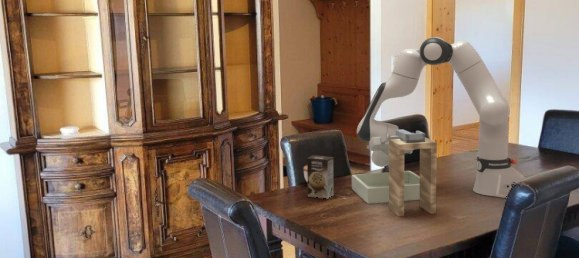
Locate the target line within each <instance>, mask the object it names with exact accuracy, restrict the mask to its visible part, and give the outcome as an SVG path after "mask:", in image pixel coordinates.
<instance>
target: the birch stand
mask: <svg viewBox="0 0 579 258" xmlns="http://www.w3.org/2000/svg"><path fill="white" fill-rule="evenodd" d="M437 145H438V142H437V141H435V140H432V139H430V138H428V137H426V136H425V142H415V143H405V142H403V141H401V140H400V139H390V140H389V164H388V172H389V202H388V208H389V209H390V211H392V212H393V214H395V215H396V216H397V217H404V216H405V201H404V171H405V155H404V150H411V149H414V150H419V176H420V195H419V200H418V201H419V207H421V208H422V210H425V212H427V213H429V214H436V211H437V159H438V158H437V154H438V153H437V151H438V149H437V148H438V146H437Z"/></svg>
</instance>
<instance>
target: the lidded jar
mask: <svg viewBox="0 0 579 258" xmlns="http://www.w3.org/2000/svg"><path fill="white" fill-rule="evenodd" d="M303 176H304V179H305V181H306V183H308V172H307V165H304V166H303Z"/></svg>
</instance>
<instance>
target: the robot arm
mask: <svg viewBox="0 0 579 258" xmlns="http://www.w3.org/2000/svg"><path fill="white" fill-rule="evenodd" d="M445 63H446V64H449V65H450V66H451V67H452V69H453V70H454V73H455V74H456V76H457V77H458V79H459V81H460V82H461V83H460V84H462V86H463V88H464V90H465V91H466V93H467V95H468V97H469V98H470V100H471V103H472V104H473V106H474V108H475V110H476V112H477V113H478V115H479V116H478V117H479V121H478V122H479V123H478V143H477V144H478V149H477V150H478V151H477V152H478V153H477V157H476V176H475V181H474V186H473V188H472V191H473V192H474V193H476V194H478V195H483V196H489V197H497V198H502V199H503V198H507V197H506V196H507V194H508V192H509V190H510V188H511V187H512V186H513V185H514V184H516V183H518V182H520V181H522V180H524V179H525V180H526V178H525V176H524V175H523V174H522V173H520V172H519V171H518V170H516V168H514V167H513V166H512V165H516V164H517V159H516V158H515V159H514V158H510V157H509V156H508V153H509V152H508V151H509V150H508V148H509V116H510V111H511V110H510V106H509V101H508V100H507V99H506V97H504V95H503V93H502V92H501V89H499V86H498V85H497V83H496V81H495V79H494V77H493V76H492V74H491V72H490V71H489V69H488V67H487V66H486V64H485V62H484V60H483V58H482V57H481V56H480V54H479V53H478V51H477V50H476V49H475V47H474V46H473V45H472V43H470V42H469V41H467V40H458V41H456V42H453V43H448V42H447V41H445V40H444V39H443V38H442V37H438V36H437V37H436V36H434V37H433V36H432V37H429V38H427V39H424V41H423V42H422V44H421V45H420V47H419V48H416V49H415V48H404V49H403V50H402V51H401V52H400V54H399V55H398V57H397V59H396V62H395V64H394V67H393V70H392V72H391V75H390V77H389V78H388V79H387V81H385V82H382V83H381V84H380V85H379V86H378V88H377V90H376V91H375V93H374V96H373V97H372V99H371V101H370V103H369V105H368V107H367V109H366V111H365V113H364V114H363V116H362V118H361V120H360V122H359V123H358V125H357V128H356V136H357V137H358V139H359V140H360V141H361V142H366V143H368V145H366V149H367V150H369V151H371V152H372V153H371V155H370V156H371V162H372V163H373V164H374V165H375V166H376V167H380V168H383V167H384V168H385V167H387V166H389V140H390V139H400V137H399V136H397V135H396V130H401V129H400V127H399V125H396V124H393V123H389V122H384V121H381V120H380V121H379V120H377V119H375V118H376V115H377V114H378V111H379V110H380V108H381V106H382V104H383V103H384V102H385V101H387V100H389V99H396V98H403V97H407V96H409V95H411V94H413V92H414V91H415V90H416V88H417V86H418V83H419V79H420V77H421V74H422V71H423V69H424V67H426V66H427V65H429V66H438V65H442V64H445ZM412 133H413V134H415V132H412ZM414 150H415V149H411V150H404V156H406V155H409V154H412V153H413V151H414Z"/></svg>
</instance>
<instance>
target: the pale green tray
mask: <svg viewBox="0 0 579 258" xmlns="http://www.w3.org/2000/svg"><path fill="white" fill-rule="evenodd" d="M351 190H352V191H354V192H355V194H356V195H357V196H359V197H360V198H361V199H362V200H363V201H364V202H365V203H366V204H367V205H369V204H380V203H381V204H382V203H383V204H384V203H389V171H388V172H387V171H386V172H385V171H384V172H374V173H373V172H372V173H360V174H359V173H358V174H351ZM419 195H420V175H418V174H416V173H415V172H413V171H411V170H404V202H407V201H419Z"/></svg>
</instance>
